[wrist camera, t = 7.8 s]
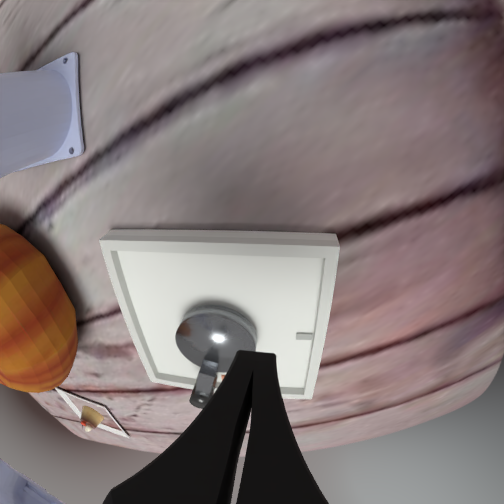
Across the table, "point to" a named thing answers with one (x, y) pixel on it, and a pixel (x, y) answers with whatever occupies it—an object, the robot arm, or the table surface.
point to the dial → (213, 344)
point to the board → (226, 294)
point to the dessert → (90, 415)
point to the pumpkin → (33, 319)
